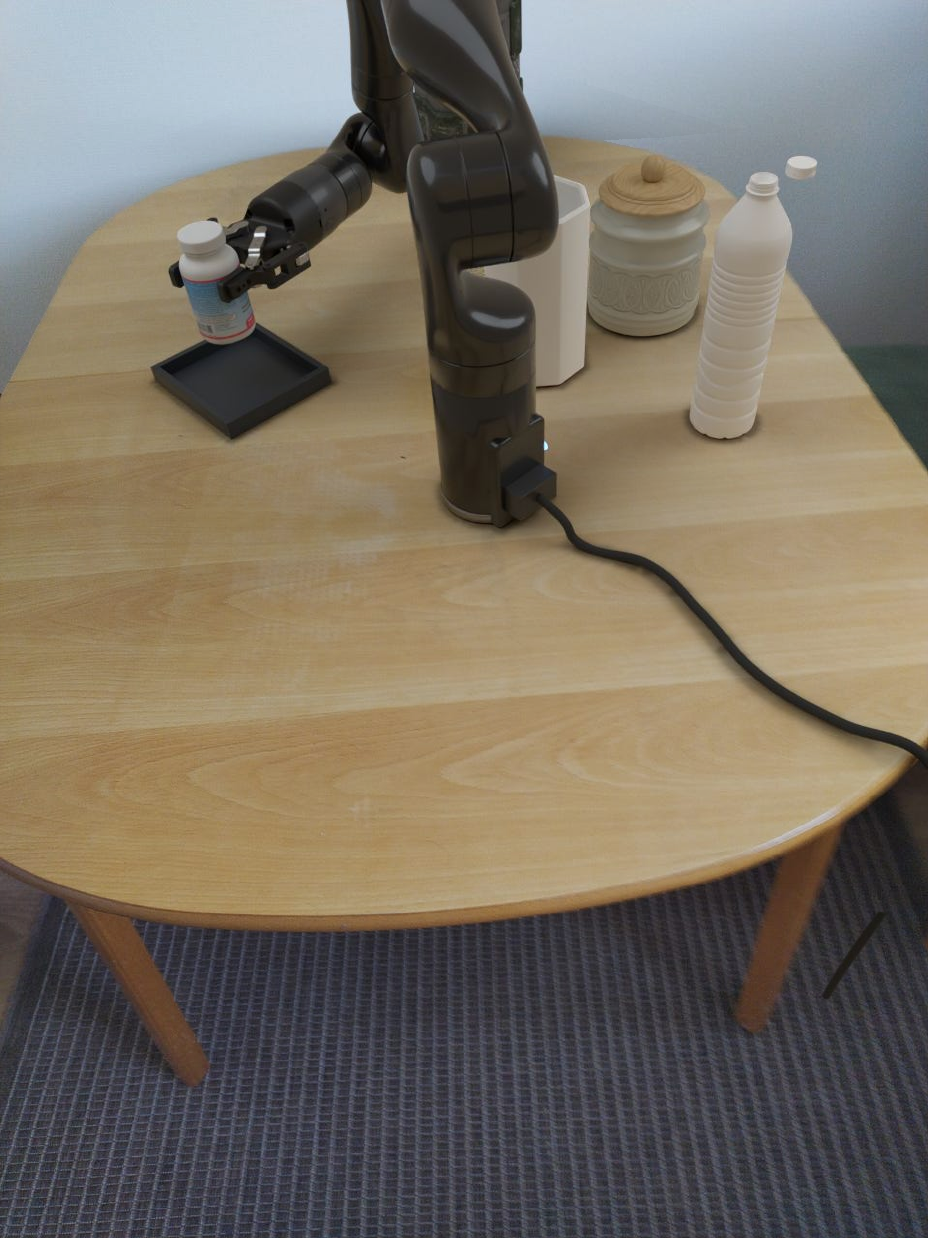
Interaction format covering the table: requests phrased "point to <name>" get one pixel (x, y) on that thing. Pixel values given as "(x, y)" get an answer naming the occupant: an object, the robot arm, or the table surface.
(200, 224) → the pill bottle
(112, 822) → the table surface
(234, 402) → the tray
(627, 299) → the jar
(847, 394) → the table surface
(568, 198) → the cup
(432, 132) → the canister
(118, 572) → the table surface
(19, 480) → the table surface
